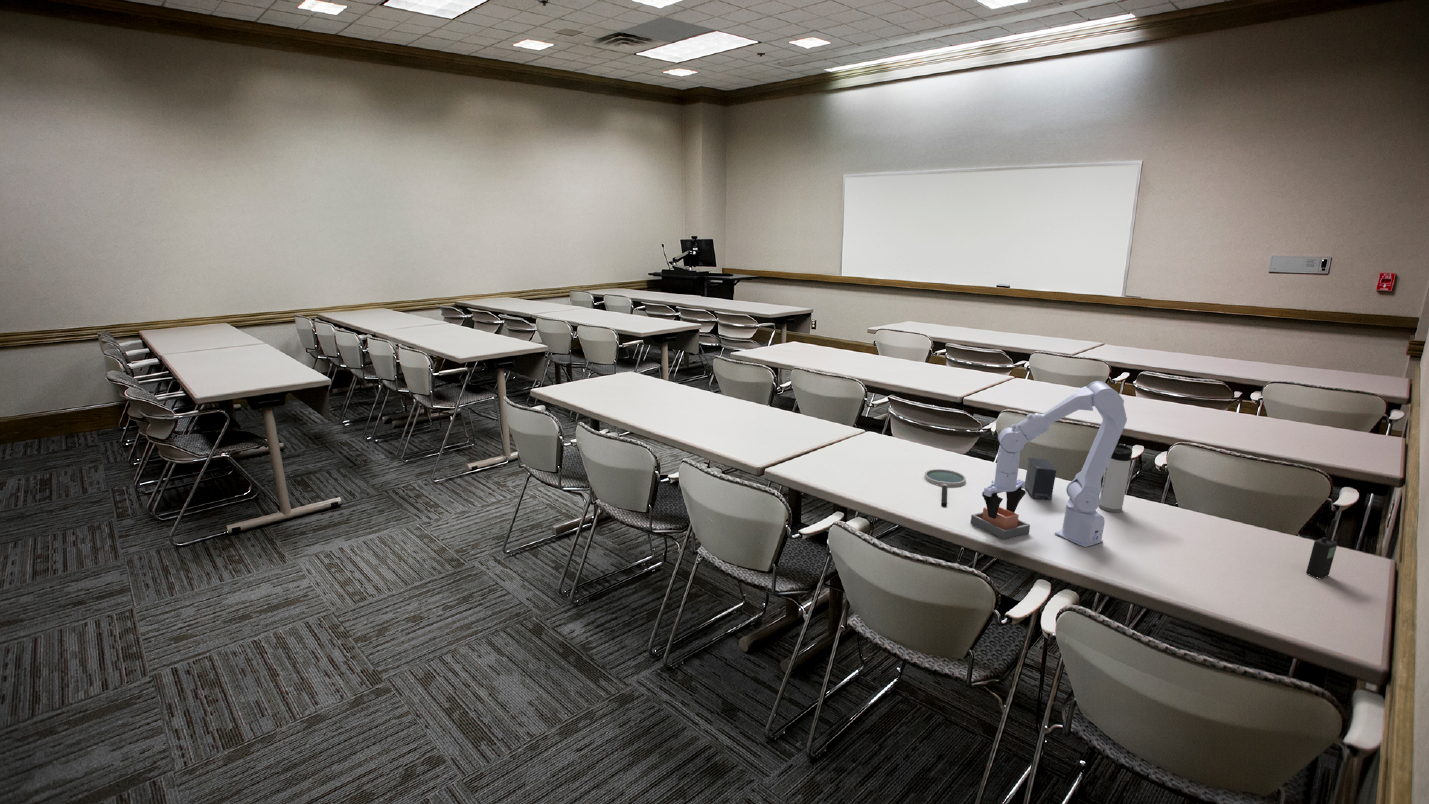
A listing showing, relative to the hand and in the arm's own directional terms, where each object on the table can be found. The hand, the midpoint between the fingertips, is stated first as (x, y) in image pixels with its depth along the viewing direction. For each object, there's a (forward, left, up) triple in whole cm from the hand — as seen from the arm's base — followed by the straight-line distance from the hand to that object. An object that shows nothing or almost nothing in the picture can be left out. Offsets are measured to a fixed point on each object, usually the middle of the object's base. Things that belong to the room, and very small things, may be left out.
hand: (1001, 514), depth 192 cm
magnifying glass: (+29, -8, -5) cm, 31 cm away
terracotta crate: (0, 0, -4) cm, 4 cm away
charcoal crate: (0, 0, -4) cm, 4 cm away
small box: (+13, -33, -4) cm, 36 cm away
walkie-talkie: (-54, -51, -4) cm, 75 cm away
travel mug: (-5, -43, -4) cm, 44 cm away
